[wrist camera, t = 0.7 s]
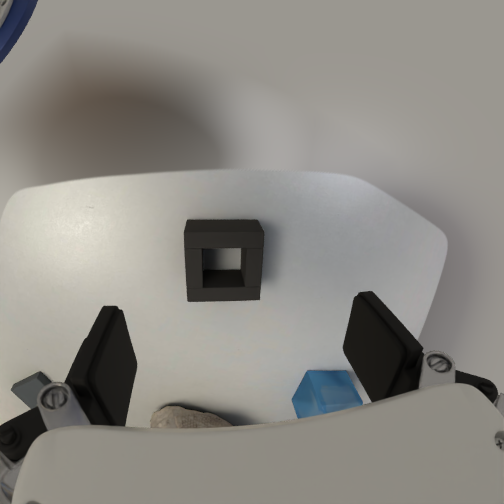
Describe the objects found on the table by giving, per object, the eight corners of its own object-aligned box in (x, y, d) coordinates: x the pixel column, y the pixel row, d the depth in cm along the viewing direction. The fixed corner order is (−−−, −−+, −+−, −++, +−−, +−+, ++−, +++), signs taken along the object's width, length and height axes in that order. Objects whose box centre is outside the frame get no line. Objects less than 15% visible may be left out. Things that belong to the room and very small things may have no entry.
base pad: (13, 384, 31) (4, 402, 26) (40, 371, 30) (29, 392, 26) (54, 420, 35) (48, 439, 31) (85, 412, 34) (79, 434, 30)
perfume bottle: (345, 370, 37) (380, 435, 26) (328, 398, 39) (355, 460, 28) (307, 370, 35) (337, 444, 24) (291, 399, 37) (314, 468, 26)
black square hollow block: (189, 282, 28) (187, 302, 25) (186, 219, 25) (183, 232, 22) (254, 281, 29) (259, 300, 26) (257, 219, 26) (264, 231, 23)
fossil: (270, 431, 37) (262, 512, 22) (235, 456, 39) (219, 527, 24) (179, 376, 37) (135, 452, 22) (152, 408, 39) (112, 474, 24)
